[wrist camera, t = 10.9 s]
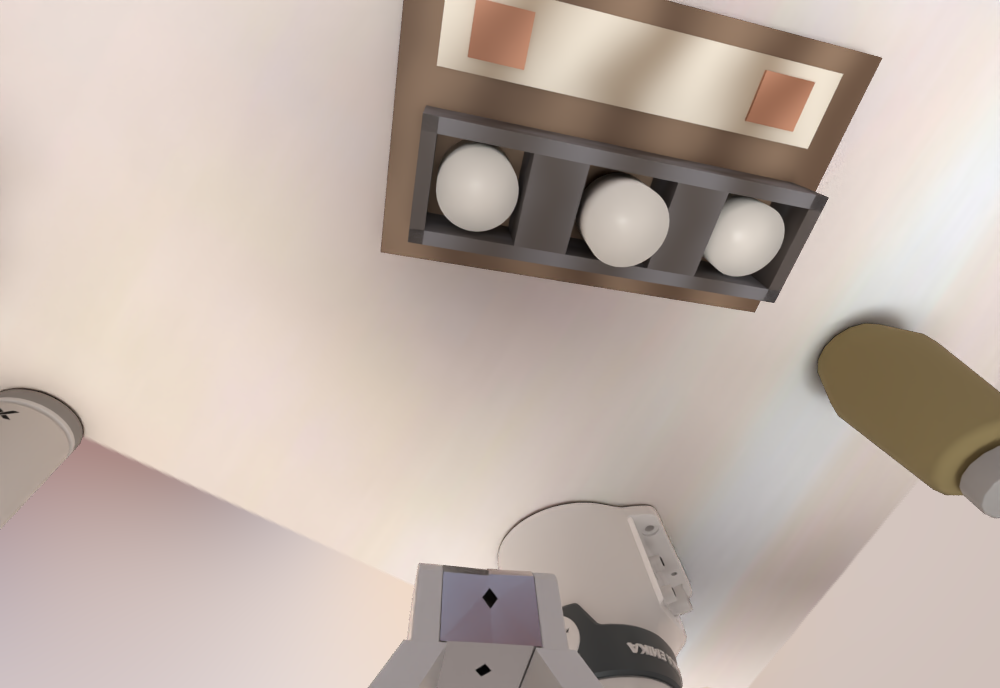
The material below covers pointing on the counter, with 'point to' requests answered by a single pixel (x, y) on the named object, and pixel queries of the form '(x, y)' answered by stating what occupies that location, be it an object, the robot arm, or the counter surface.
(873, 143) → the counter surface
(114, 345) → the counter surface
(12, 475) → the travel mug
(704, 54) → the button board
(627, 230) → the button middle
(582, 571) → the robot arm
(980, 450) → the squeeze bottle
